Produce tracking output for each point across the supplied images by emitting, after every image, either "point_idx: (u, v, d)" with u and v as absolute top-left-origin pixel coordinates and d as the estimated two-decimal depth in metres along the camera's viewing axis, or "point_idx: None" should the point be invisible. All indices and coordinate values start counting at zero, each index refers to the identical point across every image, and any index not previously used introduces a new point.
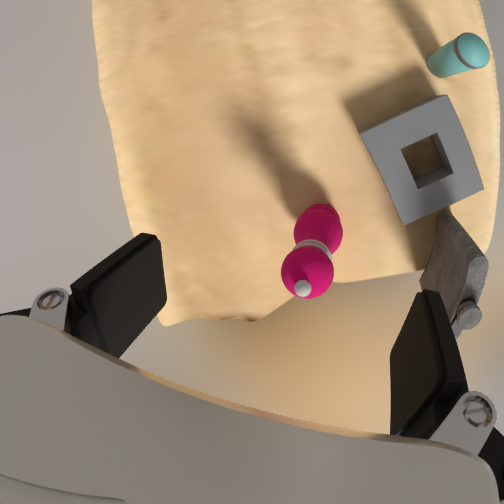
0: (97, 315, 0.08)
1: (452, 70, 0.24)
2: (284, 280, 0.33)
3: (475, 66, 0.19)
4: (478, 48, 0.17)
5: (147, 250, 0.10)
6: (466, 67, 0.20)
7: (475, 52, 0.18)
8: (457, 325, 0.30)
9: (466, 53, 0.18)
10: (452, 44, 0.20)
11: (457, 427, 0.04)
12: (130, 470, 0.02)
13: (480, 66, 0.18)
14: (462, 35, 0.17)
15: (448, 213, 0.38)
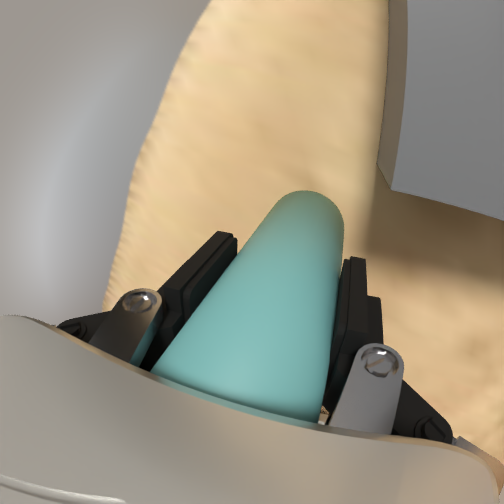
0: None
1: (325, 298, 0.08)
2: None
3: None
4: None
5: (229, 248, 0.10)
6: None
7: None
8: None
9: None
10: None
11: (363, 383, 0.05)
12: (130, 470, 0.02)
13: None
14: None
15: None
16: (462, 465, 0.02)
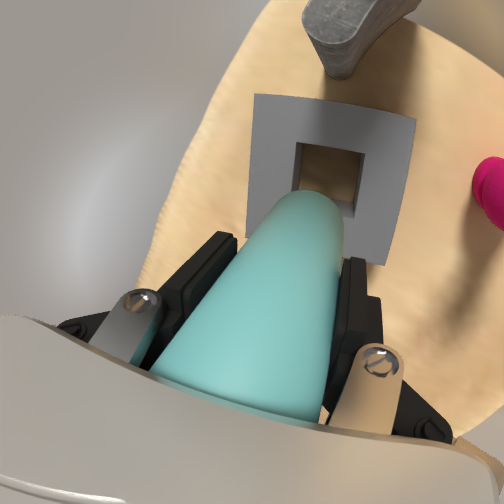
0: None
1: (325, 297, 0.08)
2: None
3: None
4: None
5: (229, 248, 0.10)
6: None
7: None
8: None
9: None
10: None
11: (363, 383, 0.05)
12: (130, 470, 0.02)
13: None
14: None
15: (330, 75, 0.24)
16: (462, 465, 0.02)
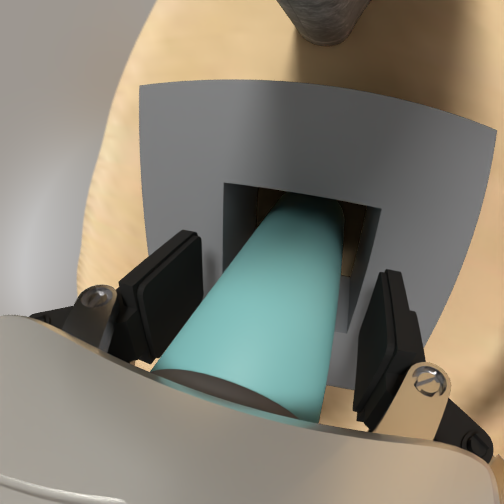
0: (146, 312, 0.08)
1: (328, 279, 0.09)
2: None
3: None
4: None
5: (190, 247, 0.10)
6: (297, 390, 0.05)
7: None
8: None
9: None
10: None
11: (411, 400, 0.05)
12: (130, 470, 0.02)
13: None
14: None
15: (306, 35, 0.11)
16: (462, 465, 0.02)
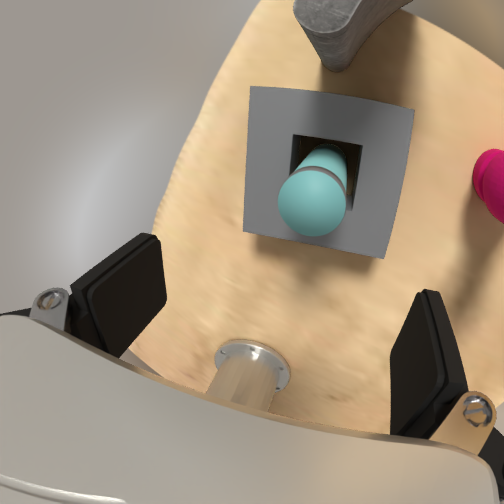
0: (97, 315, 0.08)
1: (342, 166, 0.21)
2: None
3: (332, 179, 0.16)
4: (300, 202, 0.17)
5: (147, 250, 0.10)
6: (338, 176, 0.18)
7: (313, 200, 0.17)
8: None
9: (333, 207, 0.17)
10: None
11: (457, 427, 0.04)
12: (130, 470, 0.02)
13: (321, 174, 0.16)
14: (314, 234, 0.18)
15: (327, 67, 0.23)
16: (462, 465, 0.02)
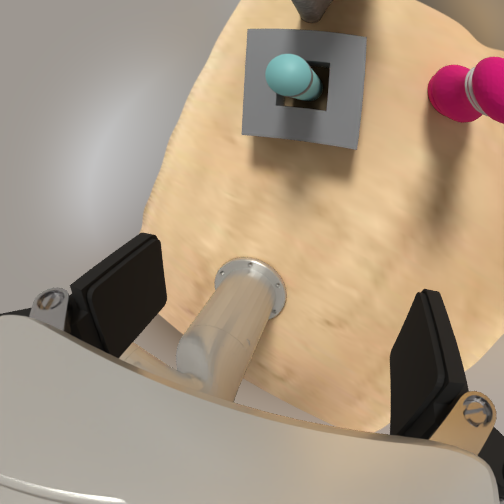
0: (97, 315, 0.08)
1: (313, 71, 0.27)
2: None
3: (300, 57, 0.21)
4: (280, 73, 0.22)
5: (147, 250, 0.10)
6: None
7: (288, 71, 0.22)
8: None
9: (302, 74, 0.22)
10: (306, 92, 0.24)
11: (457, 427, 0.04)
12: (130, 470, 0.02)
13: (293, 55, 0.21)
14: (291, 94, 0.23)
15: (304, 18, 0.28)
16: (462, 465, 0.02)
